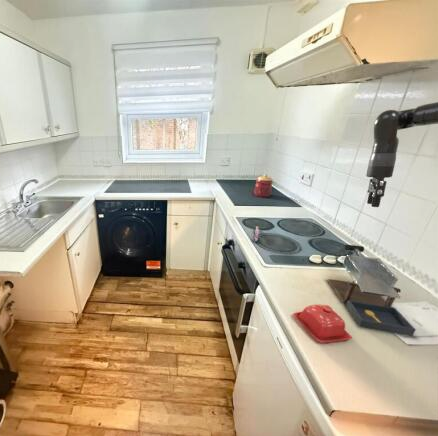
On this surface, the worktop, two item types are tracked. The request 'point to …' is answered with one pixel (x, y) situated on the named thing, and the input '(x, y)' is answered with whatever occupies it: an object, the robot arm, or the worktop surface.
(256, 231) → the decorative key
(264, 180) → the kitchen canister
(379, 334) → the worktop surface
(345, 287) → the stand
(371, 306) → the tray
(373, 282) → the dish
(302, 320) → the butter dish
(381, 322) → the key
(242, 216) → the worktop surface
